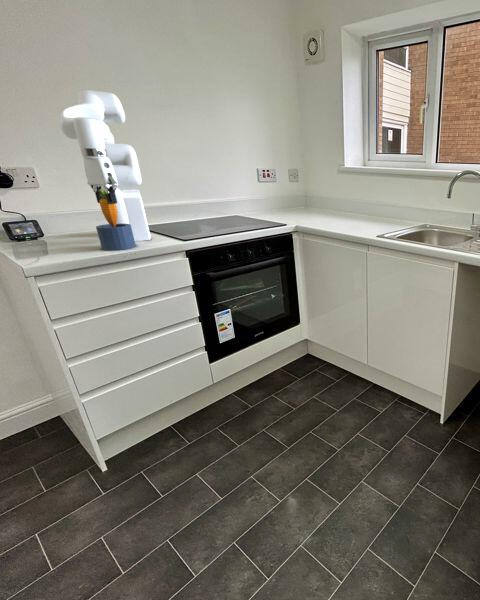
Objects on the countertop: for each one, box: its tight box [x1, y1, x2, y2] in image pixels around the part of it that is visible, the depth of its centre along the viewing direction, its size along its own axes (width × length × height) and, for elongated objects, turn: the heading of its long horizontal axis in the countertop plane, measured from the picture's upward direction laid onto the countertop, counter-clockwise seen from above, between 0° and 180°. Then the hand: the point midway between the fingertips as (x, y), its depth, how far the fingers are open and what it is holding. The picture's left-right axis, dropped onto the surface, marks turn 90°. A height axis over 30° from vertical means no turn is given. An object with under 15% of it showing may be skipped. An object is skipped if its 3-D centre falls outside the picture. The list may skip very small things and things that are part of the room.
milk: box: [122, 189, 152, 242], centre depth 157 cm, size 6×6×22 cm
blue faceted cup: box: [95, 223, 137, 252], centre depth 144 cm, size 11×11×9 cm
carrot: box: [98, 189, 117, 227], centre depth 140 cm, size 5×5×15 cm
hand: (107, 202), depth 139 cm, fingers closed on carrot, 4 cm apart
